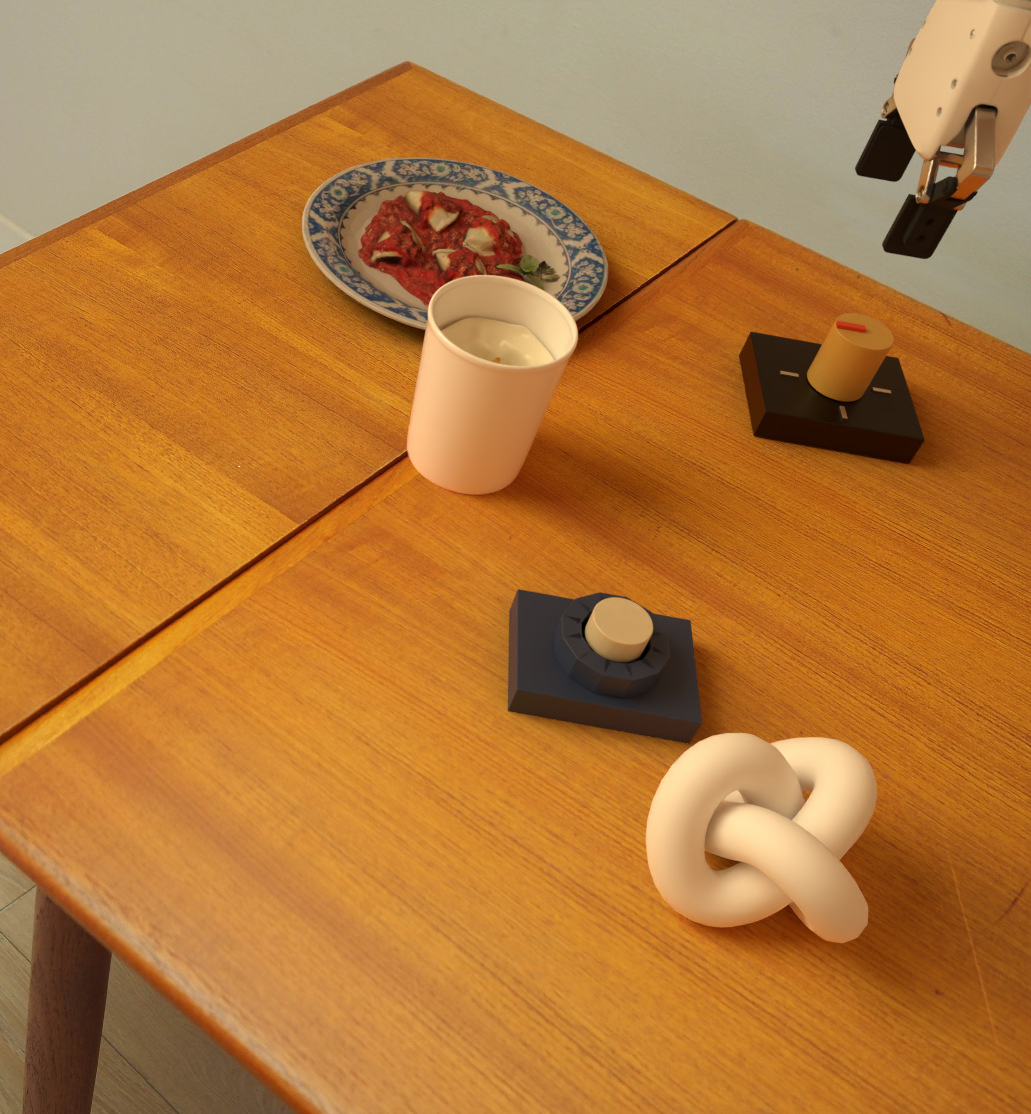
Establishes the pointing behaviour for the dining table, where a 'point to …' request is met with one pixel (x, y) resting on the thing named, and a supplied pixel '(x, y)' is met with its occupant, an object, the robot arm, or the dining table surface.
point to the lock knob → (850, 357)
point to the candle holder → (486, 380)
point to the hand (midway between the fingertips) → (889, 213)
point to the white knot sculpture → (763, 832)
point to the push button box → (600, 671)
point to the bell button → (618, 629)
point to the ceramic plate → (446, 235)
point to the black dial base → (826, 403)
